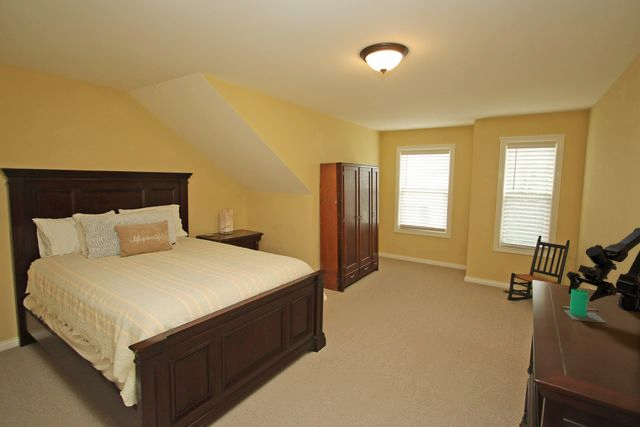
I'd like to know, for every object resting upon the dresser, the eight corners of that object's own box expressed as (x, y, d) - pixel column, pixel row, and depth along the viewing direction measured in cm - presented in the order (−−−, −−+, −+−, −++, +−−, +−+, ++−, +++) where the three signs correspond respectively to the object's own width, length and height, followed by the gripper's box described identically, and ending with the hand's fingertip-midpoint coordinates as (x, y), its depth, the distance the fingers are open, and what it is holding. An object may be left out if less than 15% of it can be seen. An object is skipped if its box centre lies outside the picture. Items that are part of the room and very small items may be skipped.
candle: (570, 314, 147) (572, 288, 146) (568, 310, 152) (570, 284, 151) (587, 317, 144) (589, 290, 142) (585, 312, 149) (587, 286, 147)
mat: (594, 313, 149) (594, 312, 149) (606, 323, 139) (606, 322, 139) (563, 310, 152) (563, 309, 152) (572, 319, 143) (572, 319, 143)
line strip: (596, 309, 153) (596, 308, 153) (598, 311, 151) (598, 310, 151) (561, 306, 157) (561, 305, 157) (562, 308, 155) (562, 307, 155)
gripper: (570, 254, 154) (550, 279, 153) (615, 264, 136) (591, 293, 135) (582, 269, 157) (562, 294, 155) (627, 281, 139) (605, 309, 137)
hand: (579, 297), depth 146 cm, fingers open, 9 cm apart
